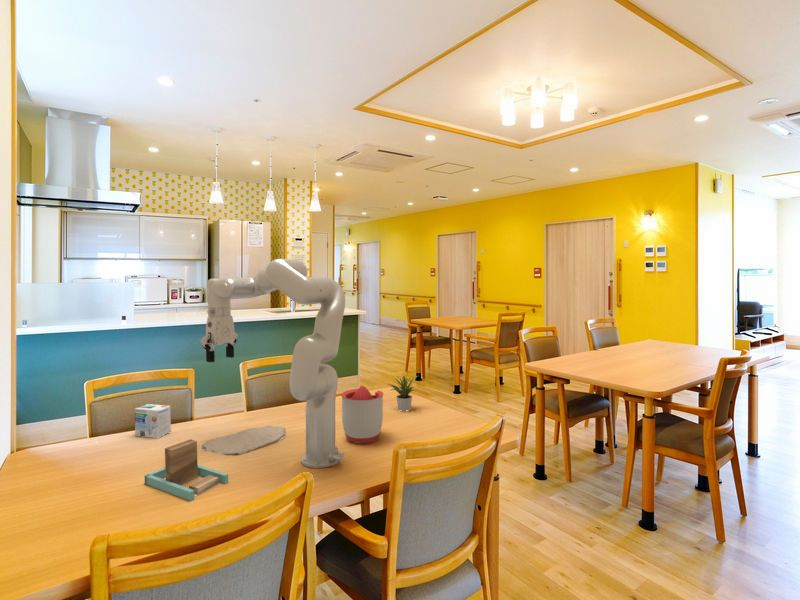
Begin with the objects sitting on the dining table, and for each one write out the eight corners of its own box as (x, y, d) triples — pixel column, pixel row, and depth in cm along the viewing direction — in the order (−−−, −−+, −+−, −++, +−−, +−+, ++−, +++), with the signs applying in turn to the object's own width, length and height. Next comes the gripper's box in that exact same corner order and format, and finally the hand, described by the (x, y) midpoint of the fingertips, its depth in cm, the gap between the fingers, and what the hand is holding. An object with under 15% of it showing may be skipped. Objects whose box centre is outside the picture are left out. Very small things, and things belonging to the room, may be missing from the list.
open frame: (228, 486, 127) (228, 474, 127) (190, 505, 117) (190, 492, 116) (183, 471, 137) (183, 460, 137) (144, 487, 126) (144, 475, 126)
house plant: (407, 403, 211) (407, 369, 210) (427, 409, 201) (427, 374, 200) (383, 408, 202) (383, 373, 201) (403, 416, 191) (403, 378, 191)
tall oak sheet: (197, 480, 131) (197, 441, 130) (172, 492, 124) (171, 450, 123) (191, 478, 132) (190, 439, 131) (165, 490, 125) (164, 448, 124)
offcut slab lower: (219, 490, 126) (219, 483, 126) (195, 502, 119) (195, 496, 119) (210, 487, 128) (210, 480, 128) (185, 499, 121) (185, 492, 121)
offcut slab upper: (218, 483, 126) (218, 477, 126) (198, 494, 120) (198, 488, 120) (209, 481, 128) (209, 475, 128) (188, 491, 121) (188, 485, 121)
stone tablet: (198, 449, 156) (198, 442, 156) (273, 427, 178) (273, 422, 177) (219, 462, 145) (219, 455, 144) (297, 438, 166) (297, 432, 166)
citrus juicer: (392, 433, 170) (392, 382, 169) (370, 449, 155) (370, 392, 154) (357, 427, 177) (357, 378, 176) (333, 442, 161) (332, 388, 160)
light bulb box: (134, 436, 167) (133, 408, 166) (148, 430, 173) (147, 403, 173) (158, 439, 164) (157, 410, 164) (171, 432, 171) (171, 405, 170)
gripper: (209, 314, 150) (210, 364, 151) (244, 311, 167) (245, 356, 167) (192, 314, 153) (193, 363, 154) (228, 310, 169) (229, 355, 170)
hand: (220, 359), depth 161 cm, fingers open, 9 cm apart
